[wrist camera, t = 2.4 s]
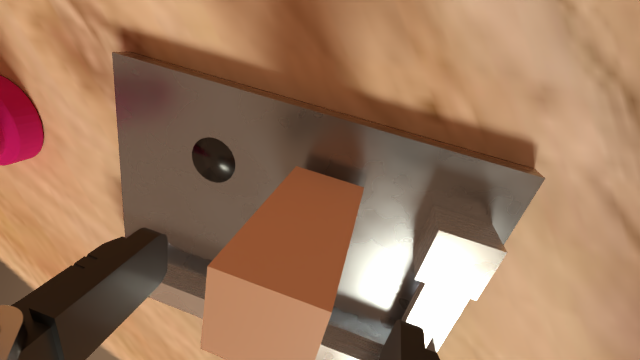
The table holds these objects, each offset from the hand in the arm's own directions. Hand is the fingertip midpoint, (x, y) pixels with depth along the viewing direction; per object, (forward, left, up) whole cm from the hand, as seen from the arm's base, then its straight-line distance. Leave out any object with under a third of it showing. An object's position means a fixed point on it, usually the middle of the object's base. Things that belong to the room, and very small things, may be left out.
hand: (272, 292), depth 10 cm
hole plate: (+2, +4, -9) cm, 10 cm away
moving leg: (0, +3, -7) cm, 8 cm away
